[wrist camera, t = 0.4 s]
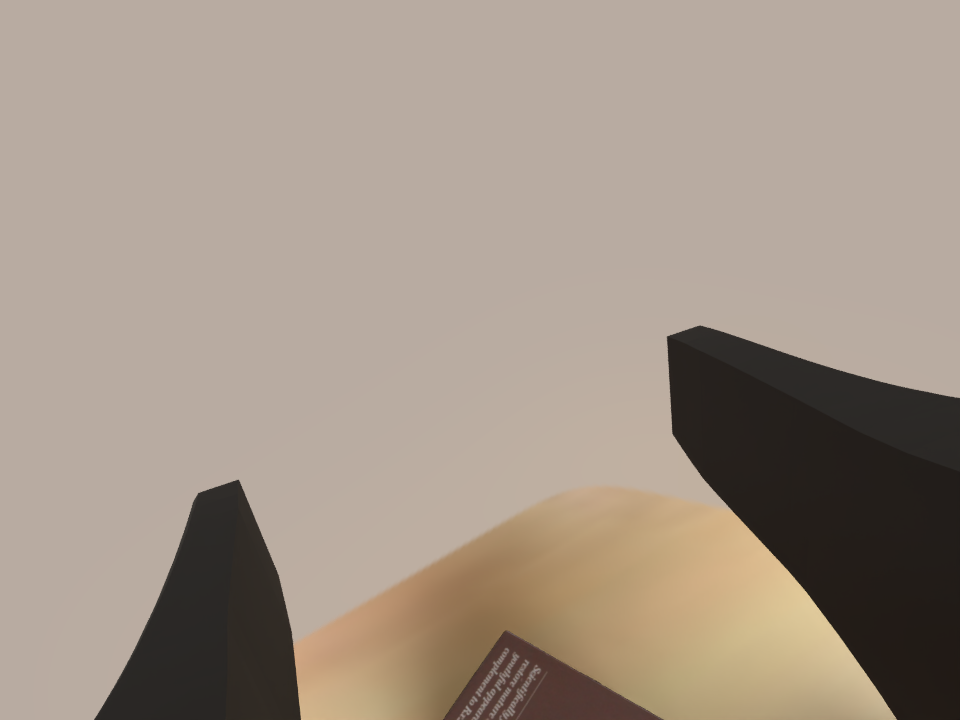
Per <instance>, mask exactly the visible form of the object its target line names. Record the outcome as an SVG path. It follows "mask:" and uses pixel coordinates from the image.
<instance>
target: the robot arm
mask: <svg viewBox="0 0 960 720" xmlns="http://www.w3.org/2000/svg"><path fill="white" fill-rule="evenodd" d="M667 344H668V362H669V379H670V397H671V413H672V432H673V435H674V437H675V438H676V440H677V441H678V443H679V444H680V445H681V447H682V449H683V450H684V452H685V453H686V455H687V456H688V458H689V459H690V461H691V462H692V463H693V465H694V466H695V467H696V469H697V470H698V472H699V473H700V475H701V476H702V477H703V479H704V480H705V481H706V482H707V483H708V484H709V486H710V487H711V488H712V489H713V490H714V491H715V492H716V493H717V494H718V496H719V497H720V498H721V499H722V500H723V501H724V502H725V503H726V504H727V505H728V507H729V508H730V509H731V510H732V511H733V512H734V513H735V514H736V515H737V516H738V517H739V518H740V519H741V521H742V522H743V523H744V524H745V525H746V526H747V527H748V528H749V529H750V530H751V531H752V532H753V533H754V534H755V536H756V537H757V538H758V539H759V540H760V541H761V542H762V543H763V544H764V545H765V546H766V547H767V548H768V549H769V551H770V552H771V553H772V554H773V555H774V556H775V557H776V558H777V559H778V560H779V561H780V562H781V563H782V564H783V566H784V567H785V568H786V569H787V570H788V571H789V572H790V573H791V574H792V576H793V577H794V578H795V579H796V580H797V581H798V583H799V584H800V585H801V586H802V587H803V588H804V590H805V591H806V592H807V593H808V595H809V596H810V597H811V599H812V600H813V601H814V603H815V604H816V605H817V607H818V608H819V609H820V611H821V612H822V613H823V615H824V616H825V617H826V619H827V620H828V621H829V623H830V624H831V625H832V627H833V628H834V629H835V631H836V632H837V633H838V635H839V636H840V637H841V639H842V640H843V642H844V643H845V645H846V646H847V647H848V649H849V650H850V652H851V653H852V654H853V656H854V657H855V659H856V660H857V662H858V663H859V664H860V666H861V667H862V669H863V670H864V671H865V673H866V674H867V676H868V677H869V678H870V680H871V681H872V683H873V684H874V686H875V687H876V688H877V690H878V691H879V693H880V694H881V696H882V698H883V699H884V701H885V702H886V704H887V705H888V707H889V708H890V710H891V711H892V713H893V714H894V716H895V717H896V719H897V720H960V398H955V397H949V396H944V395H939V394H934V393H929V392H924V391H919V390H914V389H909V388H905V387H900V386H896V385H891V384H887V383H883V382H879V381H875V380H872V379H868V378H865V377H861V376H857V375H854V374H850V373H846V372H843V371H839V370H836V369H833V368H830V367H826V366H823V365H820V364H816V363H813V362H810V361H807V360H804V359H801V358H798V357H795V356H792V355H789V354H786V353H783V352H780V351H777V350H774V349H771V348H768V347H765V346H763V345H760V344H757V343H754V342H751V341H748V340H745V339H742V338H739V337H736V336H733V335H730V334H727V333H724V332H721V331H718V330H714V329H711V328H707V327H703V326H697V327H694V328H691V329H688V330H685V331H682V332H679V333H676V334H673V335H670V336H667ZM94 720H301V716H300V706H299V697H298V687H297V677H296V667H295V658H294V648H293V639H292V632H291V627H290V623H289V618H288V614H287V609H286V605H285V601H284V597H283V592H282V588H281V584H280V579H279V575H278V573H277V570H276V568H275V566H274V563H273V561H272V558H271V556H270V553H269V551H268V549H267V546H266V544H265V542H264V539H263V537H262V535H261V532H260V529H259V527H258V525H257V522H256V520H255V518H254V515H253V513H252V510H251V508H250V505H249V503H248V501H247V498H246V496H245V493H244V491H243V489H242V486H241V484H240V482H239V480H236V481H233V482H230V483H227V484H225V485H221V486H218V487H215V488H212V489H209V490H206V491H203V492H201V493H198V495H197V497H196V498H195V500H194V502H193V505H192V508H191V512H190V515H189V518H188V521H187V525H186V527H185V530H184V533H183V536H182V539H181V542H180V545H179V548H178V551H177V553H176V556H175V559H174V561H173V564H172V566H171V569H170V571H169V574H168V576H167V579H166V581H165V584H164V586H163V589H162V591H161V593H160V596H159V598H158V601H157V603H156V605H155V607H154V610H153V612H152V614H151V616H150V618H149V620H148V622H147V624H146V626H145V629H144V631H143V633H142V635H141V637H140V639H139V641H138V643H137V645H136V647H135V649H134V651H133V653H132V655H131V657H130V659H129V661H128V663H127V665H126V666H125V668H124V670H123V672H122V674H121V676H120V677H119V679H118V681H117V683H116V685H115V686H114V688H113V690H112V691H111V693H110V695H109V697H108V698H107V700H106V701H105V703H104V705H103V706H102V708H101V710H100V711H99V713H98V715H97V716H96V718H95V719H94Z"/></svg>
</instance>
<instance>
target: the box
mask: <svg viewBox="0 0 960 720" xmlns="http://www.w3.org/2000/svg"><path fill="white" fill-rule="evenodd" d="M443 720H663V719H661V718H659V717H658V716H656V715H654V714H652V713H651V712H649V711H648V710H646V709H644V708H642V707H640V706H638V705H636V704H635V703H633V702H631V701H629V700H628V699H626V698H624V697H623V696H621V695H619V694H617V693H615V692H614V691H612V690H610V689H608V688H607V687H605V686H603V685H602V684H600V683H599V682H597V681H595V680H593V679H591V678H590V677H588V676H586V675H584V674H582V673H580V672H578V671H577V670H575V669H573V668H571V667H570V666H568V665H566V664H564V663H563V662H561V661H559V660H558V659H556V658H554V657H553V656H551V655H549V654H547V653H545V652H544V651H542V650H540V649H539V648H537V647H535V646H533V645H532V644H530V643H528V642H526V641H525V640H523V639H521V638H519V637H518V636H516V635H514V634H512V633H511V632H509V631H505V632H504V633H503V634H502V636H501V637H500V638H499V640H498V641H497V642H496V644H495V645H494V647H493V648H492V650H491V651H490V652H489V654H488V655H487V657H486V658H485V660H484V661H483V662H482V664H481V665H480V667H479V668H478V670H477V671H476V672H475V674H474V675H473V677H472V678H471V679H470V681H469V682H468V684H467V685H466V687H465V688H464V690H463V692H462V693H461V694H460V696H459V697H458V699H457V700H456V702H455V703H454V704H453V706H452V707H451V709H450V710H449V712H448V713H447V714H446V716H445V718H444V719H443Z"/></svg>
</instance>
